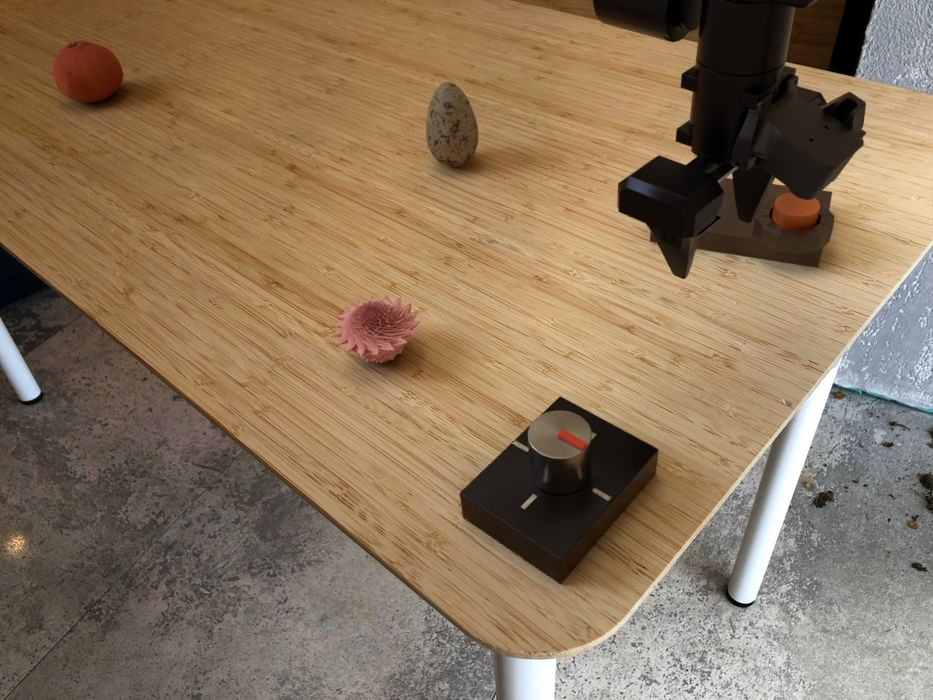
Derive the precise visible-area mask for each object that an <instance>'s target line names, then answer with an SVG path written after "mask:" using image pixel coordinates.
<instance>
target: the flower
mask: <svg viewBox="0 0 933 700" xmlns="http://www.w3.org/2000/svg"><path fill="white" fill-rule="evenodd" d="M355 302H356V303H357V306H354V307H349V306H343V309H344V310H346V311H348V312H344V313H343V314H339V315H334V316H333V317H334V319H340V320H341V321H339V322H336V323H335V324H331V325H330V326H328V327H329V328H330V329H333V328H339V329H338V331H336V332H335V333H334V334H332V335H330V336H329V338H330V339H331V338H340V339H339V341H338V342H337V343H336V345H335V346H336V347H339V346H343V345H346V353H347V354H348V353H350V352H351V351H352V352H354V354H355V355H359V356H360V359H363V360H364V359H365V361H366V363H369V362H373V363H376V364H379V363H380V364H383V363H387V362H388V361H393V360H394V359H395V358H396V356H398V355H401V354H402V353H403V350H404V348H405V346H406V345H407V344H408V340H409V339H411V338H412V337H413V336H414V335H415V334H417V331H415V330H414V329H416V327H418V325H419V324H420V323H421V321H420V320H416V318H417V316H418V314H419V311H418V310H417V311H413V312H412V303H411V302H410V303H408V304H406V305H404V306H403V304H402V298H401V297H398V298H397V299H396V300H395V301H394V302H392V301H391V299H390V297H389V296H388V295H387V294H385V295H384V297H383V300H380V299H377V298H375V297H374V296H373V295H371V296H370V300H369V301H368V302H367V301H361V300H360V299H356V300H355Z"/></svg>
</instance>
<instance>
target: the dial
mask: <svg viewBox="0 0 933 700" xmlns="http://www.w3.org/2000/svg"><path fill="white" fill-rule="evenodd" d="M541 414H542V413H541ZM541 414H540V415H538V416H537V417H536V418H535V419H534V420H533V421H532V422H531V423H530V424H529V426H530V427H529V426H528V427H529V430H528V448H529V467H530V476H531V478H532V480H533V482H534V483H535V484H536V485H537V486H538V487H539V488H540V489H542V490H544V491H546V492H548V493H552V494H560V495H561V494H569V493H573V492H575V491H577V490H579V489H581V488H582V487H583V486H584V485H585V484H586V483H587V482H588V480H589V478H590V475H591V448H592V431H591V428H590V426H589V424H588V423H587V422H586V421H585V419H583V418H582V417H581V416H579V415H577V414H575V413H572V412H569V411H560V410H559V411H551V412H547V413H544V414H542V415H541Z"/></svg>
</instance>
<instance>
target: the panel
mask: <svg viewBox="0 0 933 700" xmlns="http://www.w3.org/2000/svg"><path fill="white" fill-rule="evenodd" d="M559 410H560V411H569V412H572V413H575V414H577V415H579V416H581V417H582V418H583V419H585V421H586V422H587V423H588V424H589V426H590V428H591V431H592V448H591V475H590V478H589V480H588V482H587V483H586V484H585V485H584V486H583V487H582V488H581V489H579V490H577V491H575V492H573V493H569V494H561V495H560V494H552V493H548V492H546V491H544V490H542V489H540V488H539V487H538V486H537V485H536V484H535V483H534V482H533V480H532V478H531V476H530V467H529V448H528V430H529V427H530V425H528V426H527V427H526V428H525V429H524V430H523V431H522V432H521V433H520V434H519V435H518V436H517V437H516V438H514V440H512V442H510V444H509V445H508V446H507V447H506V448H505V449H504V450H502V451H501V452H500V453H499V454H498V455H497V456H496V457H495V458H494V459H493V460H492V461H491V462H490V463H489V464H488V465H487V466H486V467H485V468H484V469H483V470H481V471H480V473H478V474H477V475H476V476H475V478H474V479H472V480H471V481H470V482H469V483H468V484H467V485H466V486H465V487H464V488H463V489H462V490H461V491H460V492H459V499H460V507H461V514H462V518H463V519H464V520H466V521H467V522H469V523H470V524H472V525H473V526H474V527H476V528H477V529H479V530H480V531H482V532H483V533H485V534H486V535H487V536H489V537H490V538H492V539H494V540H495V541H496V542H498V543H499V544H501V545H502V546H503V547H505V548H507V550H510V551H511V552H513V553H514V554H515V555H517V556H519V557H520V558H521V559H523V560H524V561H526V562H527V563H529V564H530V565H532V566H533V567H535V568H536V569H538V570H539V571H540V572H542V573H543V574H545V575H546V576H547V577H549V578H551V579H552V580H553V581H555V582H556V583H558V584H559V585H562V583H564V581H565V580H567V578H568V577H569V575H570V574H571V573H572V572H573V571H574V570H575V569H576V568H577V566H578V565H579V564H580V563H581V562H582V561H583V559H584V558H585V556H587V555H588V554H589V553H590V551H591V550H592V549H593V548H594V547H595V545H596V544H598V543H599V541H600V540H601V538H602V537H604V535H605V534H606V533H607V532H608V531H609V529H610V528H611V527H612V526H613V525H614V524H615V523H616V521H618V520H619V518H620V517H621V516H622V514H623V513H624V512H625V511H626V509H628V507H630V505H631V504H632V503H633V502H634V500H635V499H636V498H637V497H638V496H639V495H640V494H641V492H642V491H643V490H644V489H646V487H647V485H649V483H650V482H651V481H652V480H653V479H654V477H656V475H657V469H658V458H659V450H660V449H659V448H657V447H656V446H654V445H652V444H650V443H648V442H646V441H644V440H643V439H640V438H639V437H638V436H636V435H633V434H631V433H630V432H628V431H626V430H624V429H623V428H621V427H618V426H616V425H615V424H613V423H611V422H609V421H607V420H605V419H603V418H602V417H600V416H598V415H596V414H594V413H592V412H591V411H589V410H587V409H585V408H584V407H581V406H579V405H578V404H576V403H574V402H572V401H570V400H568V399H566V398H565V397H563V396H559V397H557V398H556V399H555V400H554V401H553V402H552V403H551V404H550V405H549V406H548V407H547V408H546V409H545V410H543V412H542V413H541V414H540V415H542V414H544V413H547V412H551V411H559Z"/></svg>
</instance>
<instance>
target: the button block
mask: <svg viewBox="0 0 933 700" xmlns="http://www.w3.org/2000/svg"><path fill="white" fill-rule="evenodd" d="M719 184H720V186H721V187H722V189H723V190H724V197H723V204H722V207H721V208H720V210H719V212H718V214H717V216H720V217H721V219H720V220H719V221H718V222H716V223H715V224H714V225H713V226H711V227H710V228H709V229H708V230H707V231H705V232H704V233H703V234H702V235H700V236H699V240H698V244H697V247H696V249H700V250H706V251H713V252H718V253H723V254H731V255H738V256H744V257H750V258H754V259H755V258H756V259H762V260H768V261H775V262H781V263H787V264H794V265H800V266H806V267H813V268H819V266H820V262H821V257H822V254H823V250H824V247H825V246H827V245H828V244H830V240H831V237H832V233H833V230H834V223H835V217H836V216H835V215H834V213H832V211H831V210H830V209H831V203H832V196H833V191H831V190H824V189H823V190H822V191H821V192H820V193H819V194H818V195H817V196H816V197H815V199H817V200H818V202H819V203H820V211H819V215H818V219H817V223H816V225H815V226H814V227H813V228H812V229H808V230H802V231H796V230H790V229H784V228H782V227H780V226H778V225H776V224H775V223H774V222H773V220H772V214H773V209H774V204H775V200H776V199H777V197H779V196H780V195H782V194H785V193H791V192H790V190H789V188H788V187H787V186H786V185H784V184H776V183H772V185H771V187H770V189H769V191H768V193H767V195H766V197H765V199H764V200H763V202H762V204H761V206H760V208H759V210H758V212H757V214H756V216H755V218H754V220H753V221H752V222H751V223H746V222H743V221H741V220H739V218H738V214H737V209H736V204H735V196H734V187H733V178H732V177H731V178H729V177H726V178H725V179H724V180H722V181H721V182H720V183H719ZM649 241H650V242H655V243H657V242H656V240H655V238H654V236H653V234H652V233H651V231H650V233H649Z"/></svg>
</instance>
